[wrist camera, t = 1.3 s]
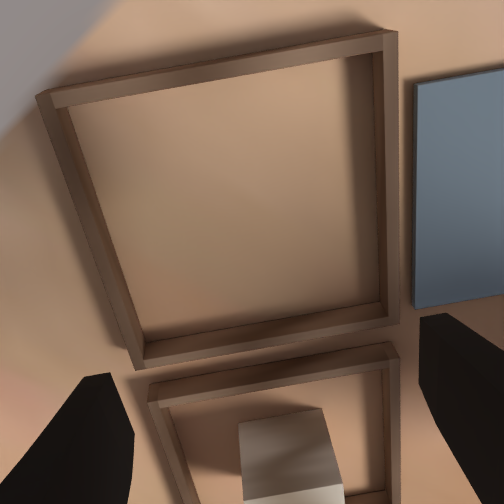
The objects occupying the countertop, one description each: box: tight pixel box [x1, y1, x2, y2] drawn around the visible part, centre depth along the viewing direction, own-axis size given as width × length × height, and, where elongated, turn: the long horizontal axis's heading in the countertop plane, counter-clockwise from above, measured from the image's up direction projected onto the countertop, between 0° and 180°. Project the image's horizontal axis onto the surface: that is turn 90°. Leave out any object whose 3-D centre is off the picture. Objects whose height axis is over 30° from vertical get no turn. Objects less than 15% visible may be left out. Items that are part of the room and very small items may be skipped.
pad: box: [412, 68, 504, 310], centre depth 20 cm, size 7×10×1 cm
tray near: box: [35, 29, 400, 371], centre depth 19 cm, size 12×12×1 cm
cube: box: [238, 408, 345, 504], centre depth 24 cm, size 4×4×4 cm
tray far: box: [147, 342, 401, 504], centre depth 25 cm, size 12×12×1 cm
